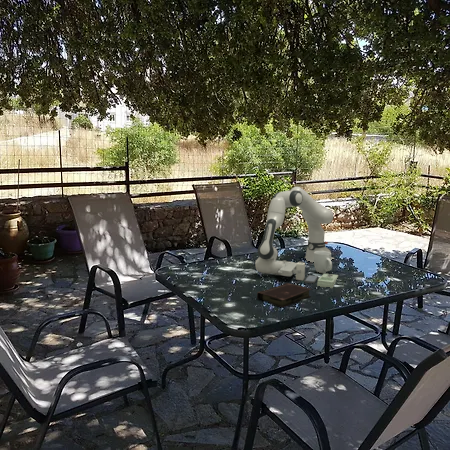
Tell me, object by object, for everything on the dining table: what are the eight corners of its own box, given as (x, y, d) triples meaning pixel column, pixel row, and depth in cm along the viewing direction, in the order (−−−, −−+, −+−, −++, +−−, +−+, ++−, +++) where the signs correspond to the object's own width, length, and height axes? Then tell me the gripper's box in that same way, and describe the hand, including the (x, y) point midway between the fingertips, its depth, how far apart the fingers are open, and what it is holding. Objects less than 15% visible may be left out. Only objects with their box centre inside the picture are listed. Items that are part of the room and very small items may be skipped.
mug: (337, 274, 286) (338, 255, 284) (324, 276, 281) (325, 256, 279) (323, 268, 299) (323, 250, 297) (309, 270, 294) (310, 251, 292)
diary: (256, 300, 239) (256, 291, 239) (285, 290, 256) (286, 282, 255) (283, 309, 226) (283, 299, 225) (312, 298, 243) (312, 289, 242)
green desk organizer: (323, 276, 282) (323, 271, 281) (337, 278, 278) (338, 272, 278) (317, 286, 262) (317, 280, 261) (332, 288, 258) (333, 282, 258)
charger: (297, 277, 279) (298, 260, 277) (304, 278, 277) (305, 261, 275) (295, 279, 275) (296, 262, 273) (303, 280, 273) (303, 262, 271)
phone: (308, 276, 280) (308, 274, 280) (318, 278, 278) (318, 276, 278) (304, 282, 268) (304, 280, 268) (314, 283, 266) (314, 281, 266)
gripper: (276, 267, 270) (298, 269, 265) (284, 259, 288) (305, 261, 283) (275, 277, 271) (298, 280, 266) (284, 268, 289) (305, 271, 284)
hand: (301, 270), depth 275 cm, fingers open, 5 cm apart
